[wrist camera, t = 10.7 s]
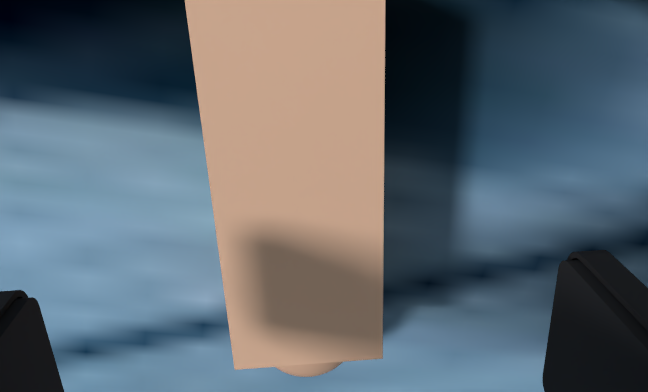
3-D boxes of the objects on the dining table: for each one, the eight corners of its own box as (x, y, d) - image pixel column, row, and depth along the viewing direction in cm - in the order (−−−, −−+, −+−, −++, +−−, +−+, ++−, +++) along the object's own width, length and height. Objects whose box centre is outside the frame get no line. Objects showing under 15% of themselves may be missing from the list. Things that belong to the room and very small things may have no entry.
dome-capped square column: (198, -90, 14) (171, -97, 11) (361, -97, 15) (386, -106, 11) (248, 332, 20) (240, 414, 17) (365, 323, 20) (382, 402, 17)
